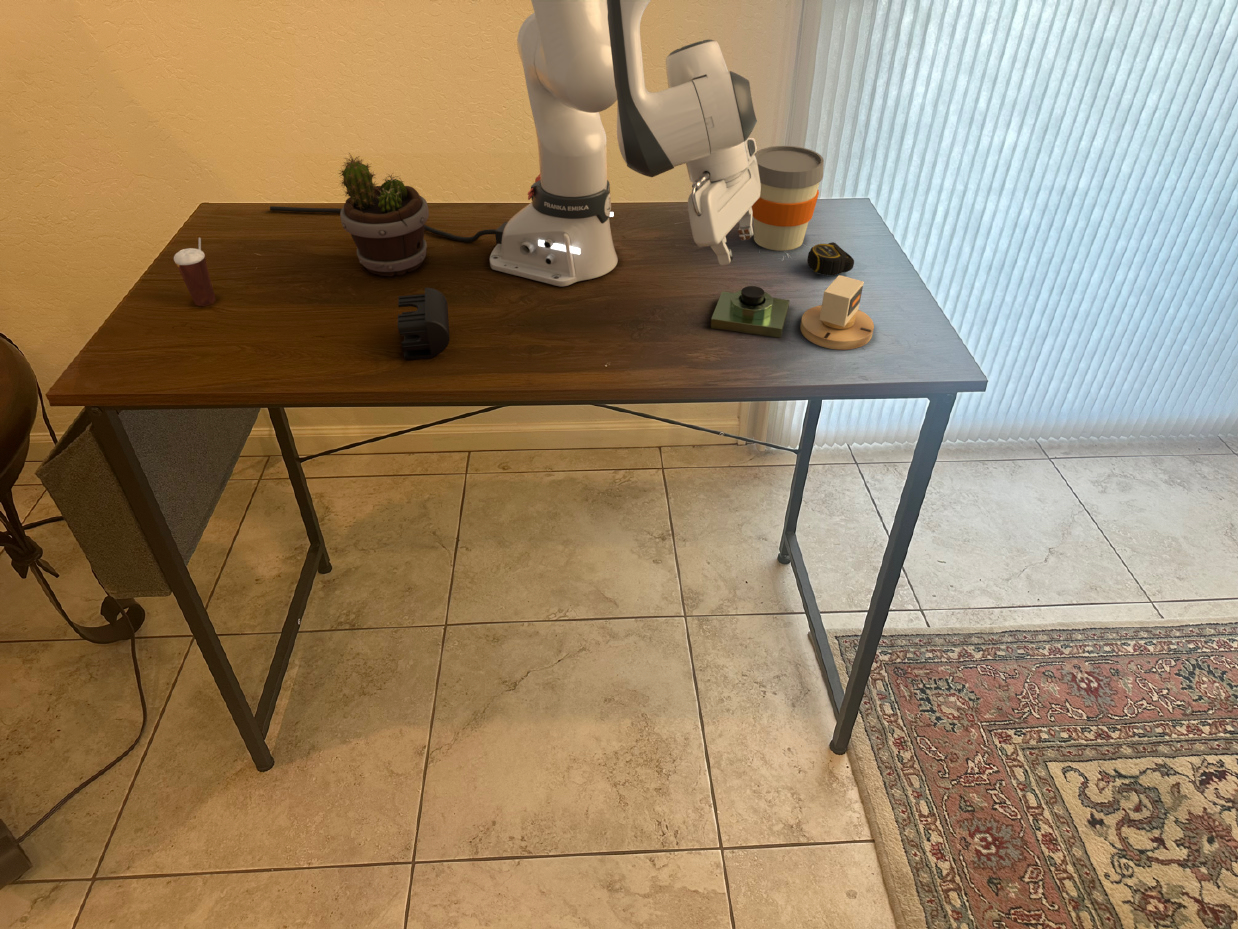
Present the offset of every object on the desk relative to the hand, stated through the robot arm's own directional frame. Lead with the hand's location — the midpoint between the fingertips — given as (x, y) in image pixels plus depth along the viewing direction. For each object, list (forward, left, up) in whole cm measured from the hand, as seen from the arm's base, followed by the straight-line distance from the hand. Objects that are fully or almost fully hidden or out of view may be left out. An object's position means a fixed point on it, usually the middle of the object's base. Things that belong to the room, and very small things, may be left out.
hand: (737, 250), depth 132 cm
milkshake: (-84, -20, -11) cm, 87 cm away
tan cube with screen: (+17, -2, -9) cm, 19 cm away
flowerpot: (-60, 0, -11) cm, 61 cm away
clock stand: (+17, -2, -10) cm, 20 cm away
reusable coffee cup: (+4, +27, -11) cm, 29 cm away
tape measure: (+14, +18, -11) cm, 25 cm away
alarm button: (+3, -2, -7) cm, 8 cm away
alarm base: (+3, -2, -10) cm, 11 cm away
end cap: (-43, -22, -11) cm, 50 cm away
